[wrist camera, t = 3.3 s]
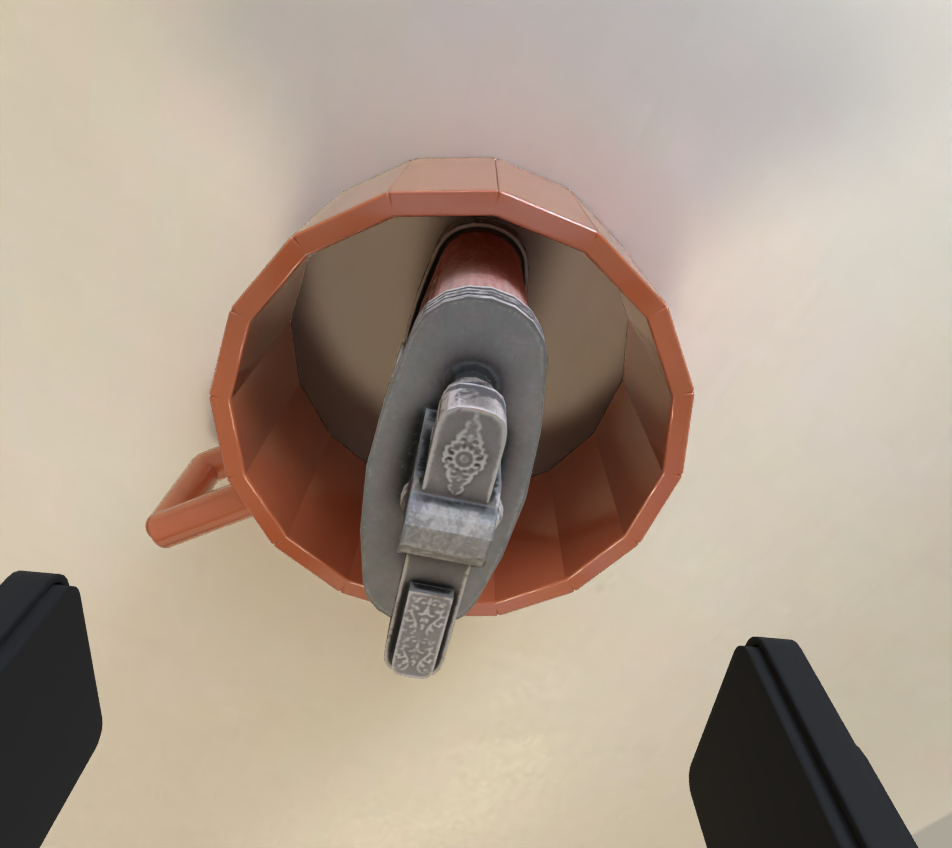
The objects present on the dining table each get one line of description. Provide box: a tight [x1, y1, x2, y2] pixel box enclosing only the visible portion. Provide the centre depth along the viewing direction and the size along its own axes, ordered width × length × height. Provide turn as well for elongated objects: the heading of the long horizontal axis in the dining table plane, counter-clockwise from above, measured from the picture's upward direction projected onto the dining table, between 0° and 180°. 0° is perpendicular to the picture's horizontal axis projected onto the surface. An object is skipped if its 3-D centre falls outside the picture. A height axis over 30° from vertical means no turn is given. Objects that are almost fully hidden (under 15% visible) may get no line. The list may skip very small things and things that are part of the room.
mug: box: [146, 158, 694, 616], centre depth 19 cm, size 14×11×6 cm
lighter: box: [360, 217, 547, 679], centre depth 17 cm, size 8×3×10 cm, turn 167°
